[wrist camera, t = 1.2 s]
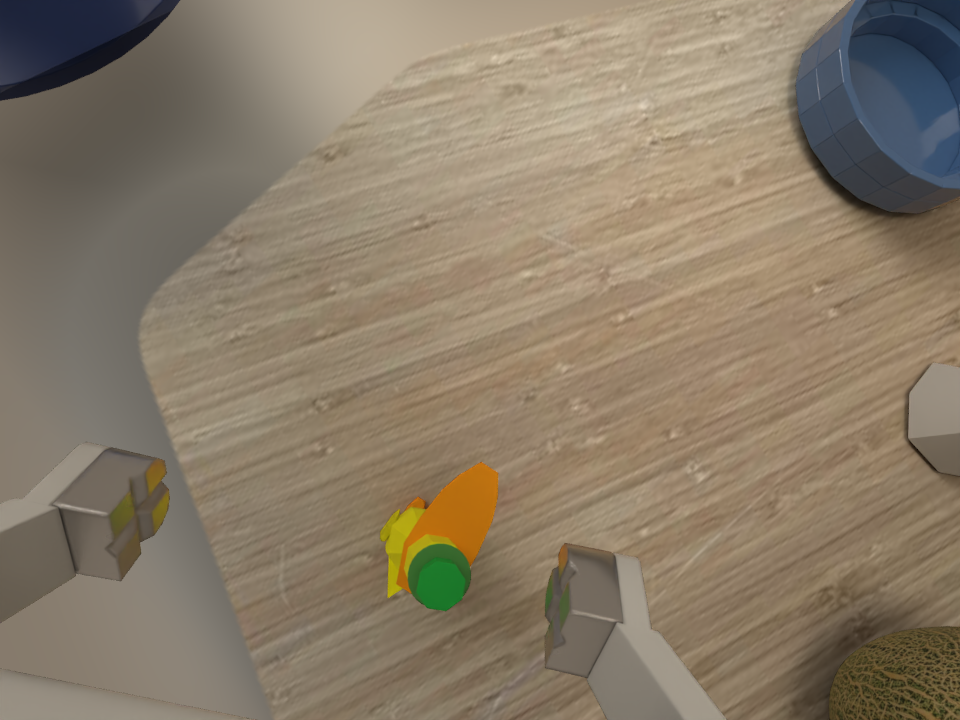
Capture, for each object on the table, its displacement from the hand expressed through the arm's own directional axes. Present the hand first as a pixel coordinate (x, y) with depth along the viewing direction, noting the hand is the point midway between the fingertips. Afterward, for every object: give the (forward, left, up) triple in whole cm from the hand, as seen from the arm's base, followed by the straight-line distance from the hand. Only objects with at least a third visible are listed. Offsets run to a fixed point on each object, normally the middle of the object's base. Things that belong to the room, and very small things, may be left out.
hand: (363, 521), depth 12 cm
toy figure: (+4, +1, -19) cm, 20 cm away
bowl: (+2, +41, -19) cm, 45 cm away
